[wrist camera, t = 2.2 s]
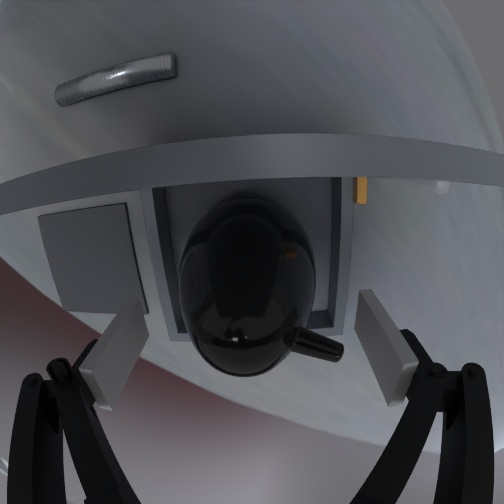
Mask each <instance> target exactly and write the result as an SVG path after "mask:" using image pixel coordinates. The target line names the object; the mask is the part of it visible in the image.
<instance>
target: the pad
mask: <svg viewBox="0 0 504 504" xmlns="http://www.w3.org/2000/svg"><path fill="white" fill-rule="evenodd" d="M38 221H39V226H40V230H41V235H42V239H43V243H44V247H45V251H46V255H47V258H48V262H49V265H50V269H51V272H52V276H53V279H54V282H55V285H56V288H57V291H58V294H59V297H60V300H61V303H62V305H63V308H64V311H73V312H90V313H113V314H118V312H119V311H120V310H121V308H122V307H123V306H124V304H125V303H126V302H127V300H128V299H140V303H141V307H142V311H143V314H148V313H149V311H148V307H147V303H146V299H145V295H144V291H143V287H142V283H141V278H140V274H139V269H138V265H137V260H136V255H135V250H134V245H133V240H132V235H131V229H130V223H129V217H128V211H127V205H126V203H122V204H114V205H106V206H99V207H92V208H85V209H79V210H72V211H66V212H60V213H54V214H48V215H42V216H39V217H38Z"/></svg>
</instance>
